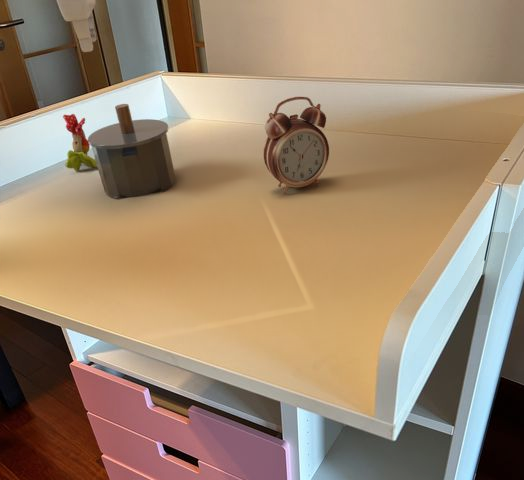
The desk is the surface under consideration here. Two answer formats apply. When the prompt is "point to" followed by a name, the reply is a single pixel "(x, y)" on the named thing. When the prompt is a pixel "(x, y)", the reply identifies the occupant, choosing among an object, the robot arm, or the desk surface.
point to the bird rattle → (78, 144)
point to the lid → (127, 131)
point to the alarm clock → (296, 146)
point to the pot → (136, 169)
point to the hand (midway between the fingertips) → (90, 46)
